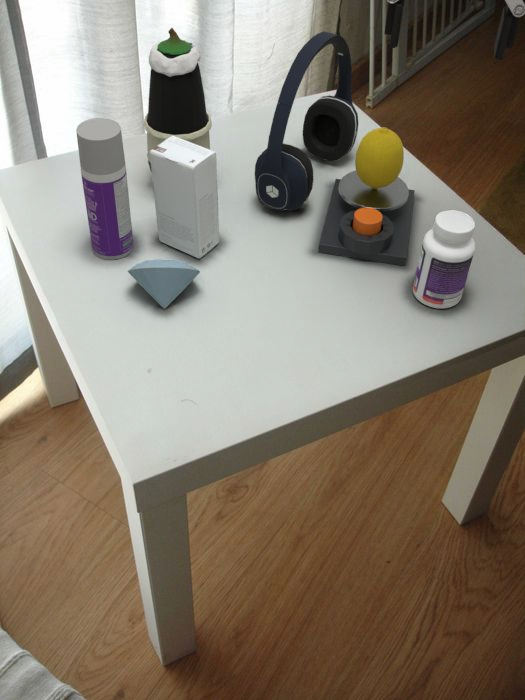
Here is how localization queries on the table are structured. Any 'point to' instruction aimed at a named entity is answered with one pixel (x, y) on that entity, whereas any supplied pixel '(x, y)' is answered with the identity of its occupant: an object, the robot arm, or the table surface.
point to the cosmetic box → (185, 195)
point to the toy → (176, 95)
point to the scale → (377, 247)
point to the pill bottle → (445, 260)
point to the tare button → (367, 221)
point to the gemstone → (163, 278)
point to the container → (105, 187)
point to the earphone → (307, 130)
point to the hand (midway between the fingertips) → (445, 48)
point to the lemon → (379, 158)
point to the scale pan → (373, 193)
